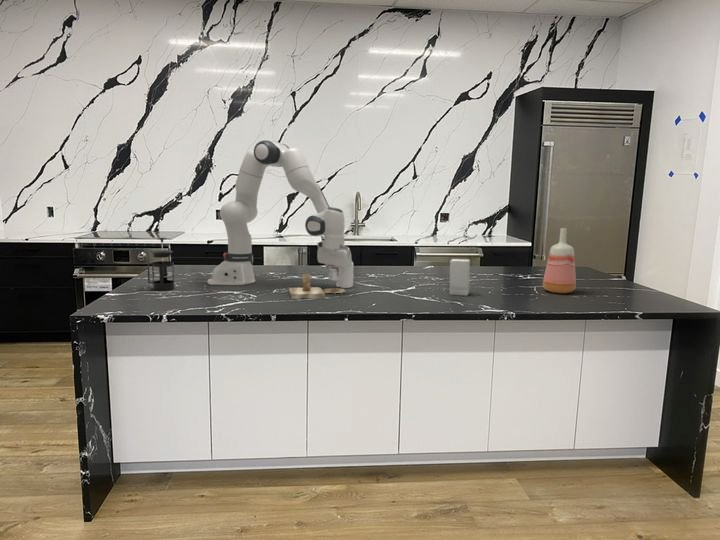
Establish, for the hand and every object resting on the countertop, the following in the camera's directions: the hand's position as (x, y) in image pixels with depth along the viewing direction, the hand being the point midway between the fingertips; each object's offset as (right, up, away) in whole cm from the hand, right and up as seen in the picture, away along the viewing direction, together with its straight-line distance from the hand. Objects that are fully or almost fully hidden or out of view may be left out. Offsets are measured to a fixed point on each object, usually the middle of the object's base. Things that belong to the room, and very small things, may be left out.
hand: (334, 275), depth 246 cm
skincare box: (+56, -9, +1) cm, 57 cm away
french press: (-77, -6, 0) cm, 77 cm away
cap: (0, -2, 0) cm, 2 cm away
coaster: (0, -7, +1) cm, 8 cm away
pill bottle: (+4, -6, +13) cm, 15 cm away
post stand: (-12, -9, -7) cm, 16 cm away
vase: (+104, -8, +10) cm, 105 cm away
